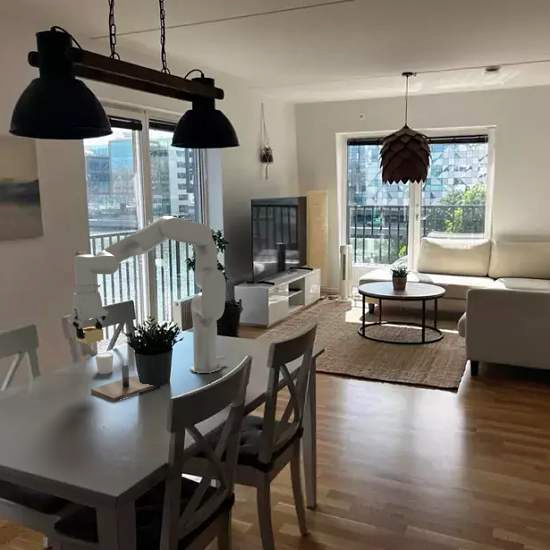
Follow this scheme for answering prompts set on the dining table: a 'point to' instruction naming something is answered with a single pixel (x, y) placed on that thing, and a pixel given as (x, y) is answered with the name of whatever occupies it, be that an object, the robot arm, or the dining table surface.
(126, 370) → the post
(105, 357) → the white tapered cup
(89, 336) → the brass link
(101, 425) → the dining table surface
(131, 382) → the keeper board
